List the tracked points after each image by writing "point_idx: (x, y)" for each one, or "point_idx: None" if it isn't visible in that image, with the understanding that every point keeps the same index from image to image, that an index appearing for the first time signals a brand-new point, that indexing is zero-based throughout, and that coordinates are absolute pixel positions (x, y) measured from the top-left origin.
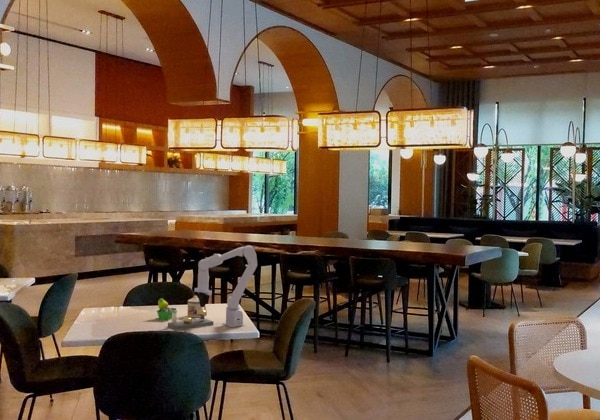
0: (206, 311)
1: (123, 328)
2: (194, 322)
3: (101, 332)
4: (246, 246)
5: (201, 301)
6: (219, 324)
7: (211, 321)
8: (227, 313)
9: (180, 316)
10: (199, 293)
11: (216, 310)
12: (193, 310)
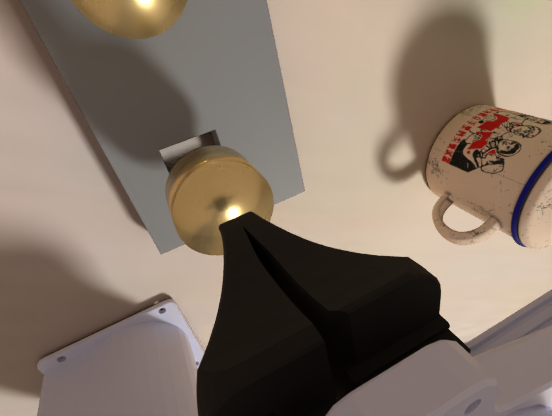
0: (198, 249)
1: None
2: (136, 70)
3: None
4: None
5: (224, 275)
6: (177, 277)
7: (162, 239)
8: (120, 412)
9: (505, 54)
10: (416, 339)
11: (498, 267)
12: (479, 149)
